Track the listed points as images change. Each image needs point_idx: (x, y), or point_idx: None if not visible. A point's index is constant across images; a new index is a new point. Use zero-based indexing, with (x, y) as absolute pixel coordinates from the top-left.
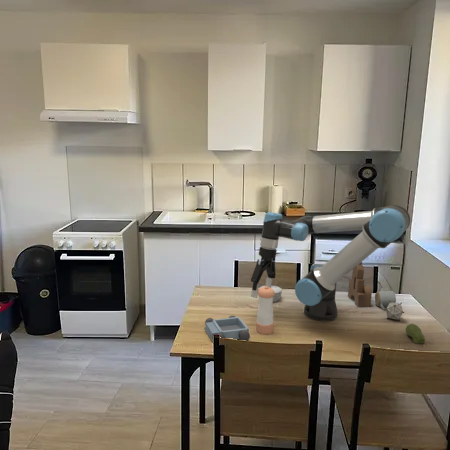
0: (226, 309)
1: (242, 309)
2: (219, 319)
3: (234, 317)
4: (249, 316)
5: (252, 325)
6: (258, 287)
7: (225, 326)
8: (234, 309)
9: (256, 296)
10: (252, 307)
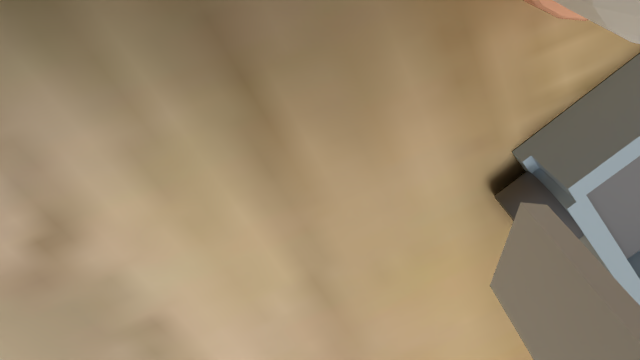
0: (247, 354)
1: (172, 269)
2: (632, 288)
3: (579, 222)
4: (294, 157)
5: (478, 55)
6: (637, 327)
7: (605, 217)
8: (212, 315)
9: (560, 220)
10: (60, 222)
